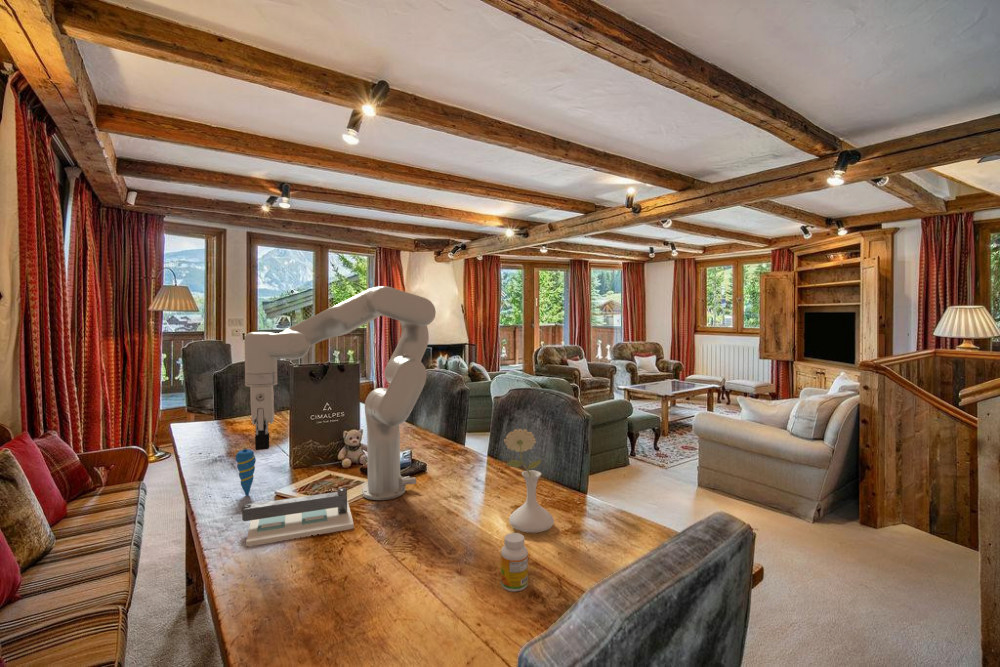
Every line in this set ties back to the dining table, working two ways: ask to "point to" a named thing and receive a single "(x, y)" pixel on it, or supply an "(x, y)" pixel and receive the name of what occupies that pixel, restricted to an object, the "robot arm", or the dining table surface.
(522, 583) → the supplement bottle
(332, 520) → the label board
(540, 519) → the flower in vase
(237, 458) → the ornament
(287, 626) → the dining table surface
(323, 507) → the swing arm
